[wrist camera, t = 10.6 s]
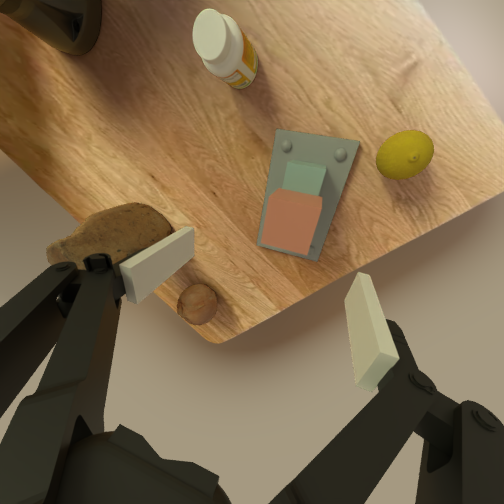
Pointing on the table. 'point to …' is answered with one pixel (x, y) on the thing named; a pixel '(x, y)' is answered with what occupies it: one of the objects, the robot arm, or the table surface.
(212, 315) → the onion
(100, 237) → the rough sandstone chunk
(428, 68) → the table surface
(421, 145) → the lemon
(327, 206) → the build plate
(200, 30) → the supplement bottle
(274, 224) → the brick block
